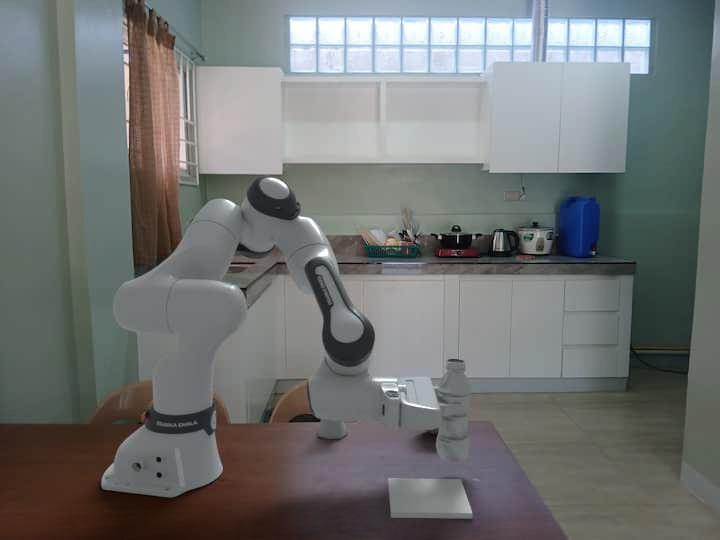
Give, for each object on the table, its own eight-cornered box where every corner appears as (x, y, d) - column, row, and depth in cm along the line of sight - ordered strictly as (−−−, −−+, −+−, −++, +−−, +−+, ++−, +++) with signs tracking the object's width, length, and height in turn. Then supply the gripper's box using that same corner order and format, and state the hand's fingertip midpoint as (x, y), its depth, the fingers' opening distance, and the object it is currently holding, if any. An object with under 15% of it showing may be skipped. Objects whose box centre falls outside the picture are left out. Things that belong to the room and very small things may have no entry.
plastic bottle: (472, 466, 112) (476, 366, 110) (436, 465, 113) (440, 365, 110) (466, 451, 119) (471, 356, 116) (433, 450, 119) (437, 355, 116)
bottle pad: (391, 517, 100) (391, 512, 100) (388, 483, 112) (388, 478, 112) (472, 518, 100) (472, 513, 100) (460, 483, 112) (460, 479, 112)
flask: (343, 441, 131) (344, 398, 129) (312, 438, 132) (312, 396, 131) (350, 428, 138) (350, 388, 136) (321, 426, 139) (321, 386, 138)
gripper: (386, 396, 125) (451, 398, 125) (389, 435, 105) (466, 437, 105) (387, 368, 124) (452, 369, 124) (390, 402, 104) (468, 403, 104)
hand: (459, 401), depth 114 cm, fingers closed on plastic bottle, 6 cm apart
